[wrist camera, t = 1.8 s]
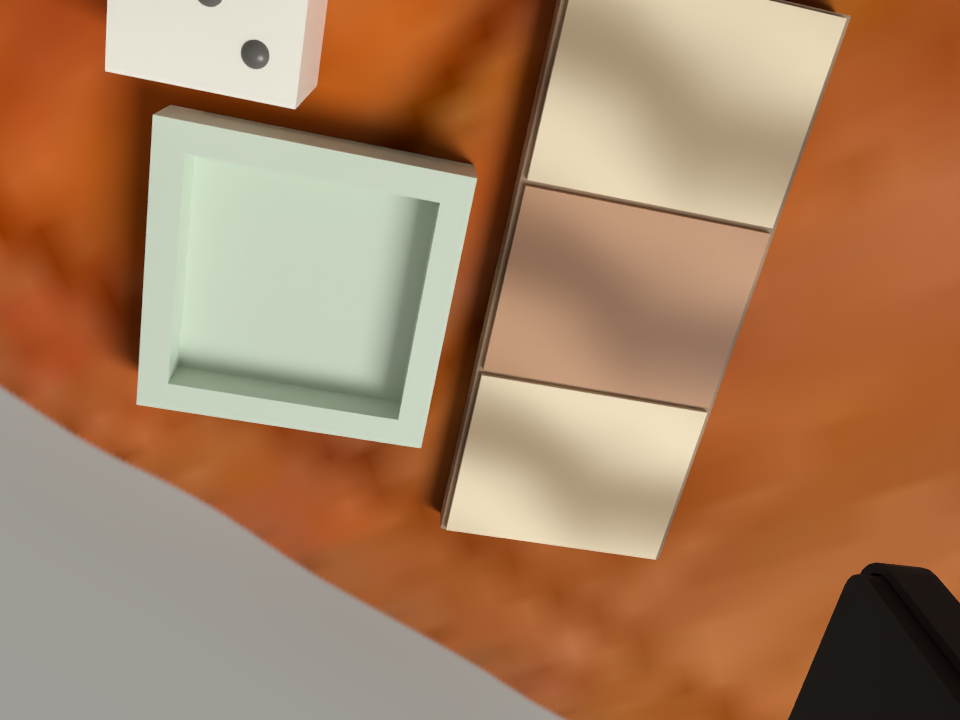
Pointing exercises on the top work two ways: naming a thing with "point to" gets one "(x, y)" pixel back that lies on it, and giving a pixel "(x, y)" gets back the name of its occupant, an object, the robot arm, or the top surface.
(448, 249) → the tray
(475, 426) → the track
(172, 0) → the block
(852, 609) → the robot arm
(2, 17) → the top surface
